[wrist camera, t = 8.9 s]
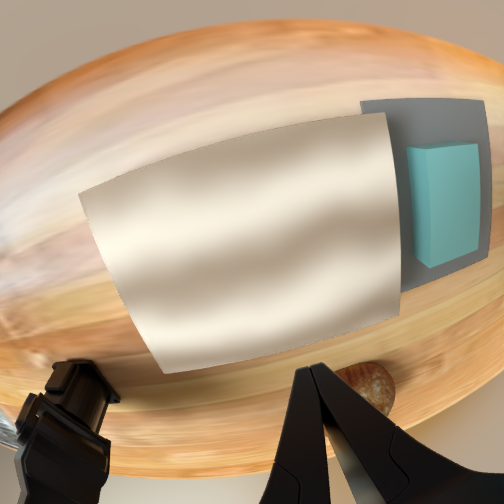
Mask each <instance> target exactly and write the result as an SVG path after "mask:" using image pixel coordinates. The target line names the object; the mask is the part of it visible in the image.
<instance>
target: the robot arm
mask: <svg viewBox="0 0 504 504" xmlns="http://www.w3.org/2000/svg"><path fill="white" fill-rule="evenodd" d="M52 368H53V370H54V371H53V373H52V375H51V377H50V378H49V380H48V382H47V384H46V385H45V390H46V393H45V395H43V394H42V393H41V392H40V393H39V394H38V395H36V394H33V393H30V394H29V395H28V397H27V399H26V400H25V402H24V404H23V406H22V408H21V410H20V413H19V415H18V417H17V420H16V422H15V425H16V428H17V432H16V434H17V436H16V439H15V441H17V442H18V443H19V444H20V446H19V448H18V450H17V453H16V455H15V458H14V462H15V467H16V472H17V476H18V480H19V484H20V488H21V493H20V497H19V500H18V503H17V504H98V503H99V497H100V491H101V488H102V487H103V486H104V484H105V483H106V481H107V478H108V475H109V468H110V448H111V441H110V440H108V439H107V438H106V439H105V438H103V437H102V436H100V435H98V434H99V431H100V428H101V425H102V422H103V419H104V416H105V413H106V410H107V407H108V404H113V403H120V400H121V399H120V397H119V396H118V395H117V394H116V393H115V391H114V390H113V389H112V388H111V386H110V385H109V384H108V382H107V381H106V380H105V379H104V377H103V376H102V375H101V373H100V372H99V370H98V369H97V368H96V366H95V365H94V364H93V362H91V361H76V362H63V363H54V364H53V365H52ZM36 414H37V415H38V416H39V418H38V417H37V416H36ZM323 425H324V426H323ZM395 426H396V424H395V423H393V422H392V421H391V420H390V419H389V418H387V417H386V416H385V415H384V414H383V413H381V412H380V411H379V410H378V409H377V408H375V407H374V406H373V405H372V404H371V403H369V402H368V401H367V400H366V399H365V398H363V397H362V396H361V395H360V394H359V393H358V392H356V391H355V390H354V389H353V388H352V387H351V386H349V385H348V384H347V383H346V382H345V381H344V380H342V379H341V378H340V377H339V376H338V375H337V374H335V373H334V372H333V371H332V370H331V369H330V368H329V367H327V366H326V365H325V364H324V363H322V362H320V363H317V364H313V365H311V366H310V368H309V367H308V366H306V367H302V368H298V369H296V371H295V376H294V380H293V385H292V390H291V394H290V399H289V403H288V408H287V412H286V416H285V421H284V425H283V429H282V433H281V437H280V441H279V445H278V449H277V452H276V456H275V460H274V462H275V463H273V467H272V470H271V474H270V477H269V480H268V483H267V486H266V489H265V491H264V493H263V496H262V498H261V500H260V502H259V504H331V500H330V487H329V475H328V464H327V453H326V444H325V435H324V428H325V431H326V433H327V436H328V438H329V440H330V443H331V445H332V447H333V450H334V452H335V454H336V457H337V459H338V461H339V464H340V466H341V468H342V470H343V473H344V475H345V478H346V480H347V482H348V484H349V487H350V489H351V491H352V494H353V496H354V498H355V501H356V503H357V504H504V473H485V472H477V471H473V470H470V469H467V468H465V467H463V466H461V465H459V464H457V463H455V462H453V461H451V460H449V459H447V458H446V457H444V456H442V455H440V454H438V453H436V452H435V451H433V450H431V449H430V448H428V447H426V446H425V445H423V444H421V443H420V442H418V441H417V440H415V439H414V438H413V437H411V436H410V435H409V434H407V433H406V432H405V431H404V430H402V429H401V428H400V427H399V426H396V427H395Z"/></svg>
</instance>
